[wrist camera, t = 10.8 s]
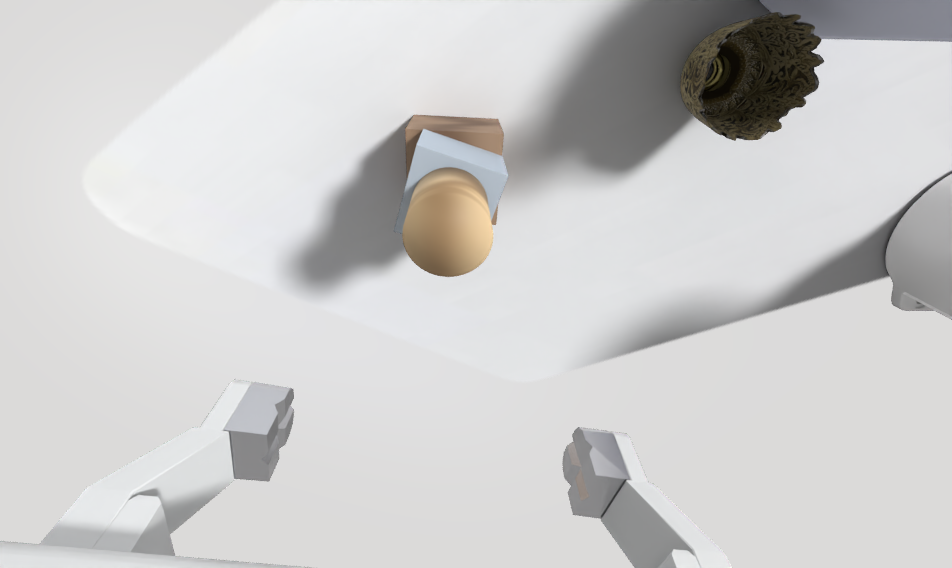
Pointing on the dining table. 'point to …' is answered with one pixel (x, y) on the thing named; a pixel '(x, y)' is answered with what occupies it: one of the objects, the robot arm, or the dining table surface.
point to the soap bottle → (872, 18)
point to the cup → (751, 75)
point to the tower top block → (456, 154)
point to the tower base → (456, 134)
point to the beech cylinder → (448, 223)
